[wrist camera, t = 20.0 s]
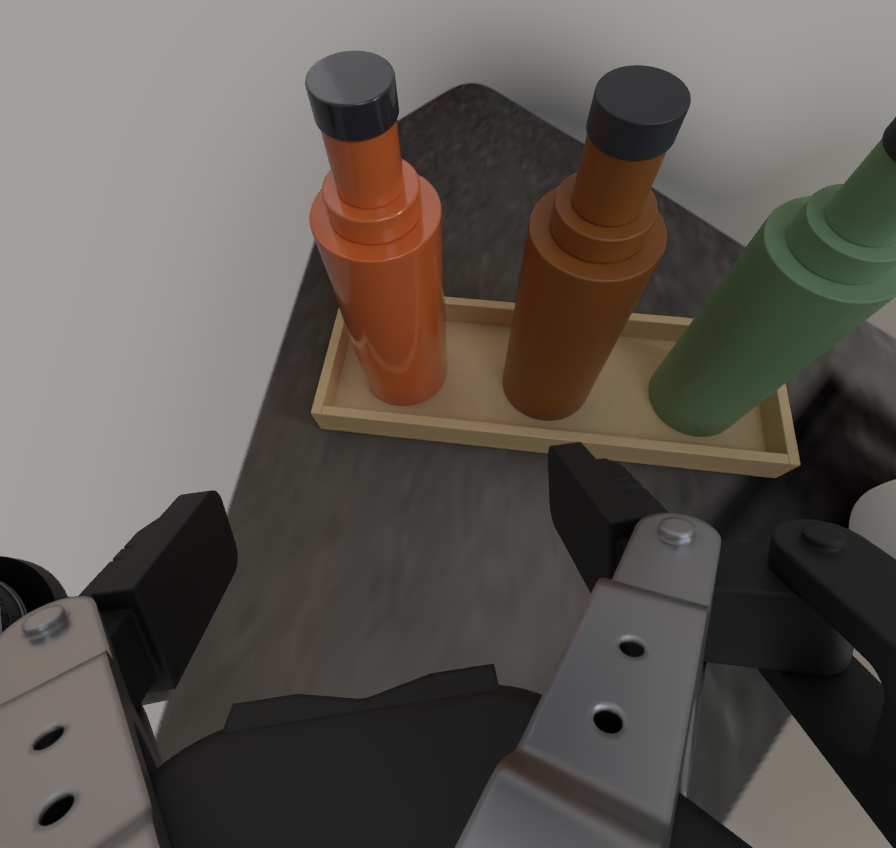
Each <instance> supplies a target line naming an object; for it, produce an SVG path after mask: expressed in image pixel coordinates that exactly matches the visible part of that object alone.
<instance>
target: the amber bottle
mask: <svg viewBox="0 0 896 848" xmlns="http://www.w3.org/2000/svg"><path fill="white" fill-rule="evenodd" d="M690 100H691V99H690V92H689V90H688V88H687V86H686V85H685V84H684V83H683V82H682V81H681V80H680V79H679V78H677V77H676V76H674V75H673V74H671V73H669V72H667V71H664V70H661V69H658V68H654V67H649V66H638V65H635V66H625V67H620V68H617V69H614V70H612V71H610V72H608V73H606V74H605V75H604V76H603V77H602V78H601V79H600V80H599V82H598V83H597V85H596V88H595V92H594V96H593V100H592V104H591V108H590V112H589V116H588V120H587V125H586V129H587V137H586V141H585V144H584V148H583V152H582V156H581V160H580V164H579V168H578V172H576V173H574V174H572V175H571V176H569V177H568V178H566V179H565V180H564V181H563V182H562V183H561V185H560V186H559V187H557V188H555V189H553V190H551V191H550V192H548V193H547V194H546V195H544V196H543V197H542V198H541V199H540V200H539V201H538V203H537V204H536V205H535V207H534V208H533V210H532V213H531V215H530V219H529V224H528V230H527V236H526V242H525V248H524V254H523V260H522V266H521V272H520V277H519V283H518V289H517V295H516V301H515V307H514V313H513V319H512V325H511V331H510V337H509V343H508V348H507V354H506V360H505V366H504V372H503V388H504V392H505V394H506V396H507V398H508V400H509V401H510V403H511V404H512V405H513V406H514V407H515V408H516V409H517V410H518V411H520V412H521V413H523V414H524V415H526V416H528V417H531V418H534V419H537V420H543V421H554V420H560V419H563V418H566V417H569V416H571V415H572V414H574V413H575V412H576V411H578V410H579V409H580V408H581V407H582V405H583V404H584V402H585V401H586V399H587V397H588V395H589V393H590V391H591V389H592V387H593V385H594V384H595V382H596V380H597V378H598V376H599V374H600V372H601V370H602V368H603V367H604V365H605V363H606V361H607V359H608V357H609V355H610V353H611V351H612V350H613V348H614V346H615V344H616V342H617V340H618V338H619V336H620V334H621V333H622V331H623V329H624V327H625V325H626V323H627V321H628V319H629V317H630V316H631V314H632V312H633V310H634V308H635V306H636V304H637V302H638V300H639V299H640V297H641V295H642V293H643V291H644V289H645V287H646V285H647V283H648V282H649V280H650V278H651V276H652V274H653V272H654V270H655V268H656V266H657V265H658V263H659V261H660V259H661V257H662V255H663V253H664V251H665V247H666V243H667V231H666V226H665V223H664V220H663V218H662V216H661V215H660V213H659V212H658V207H657V201H656V198H655V196H654V194H653V192H652V191H651V187H652V184H653V182H654V180H655V177H656V175H657V173H658V170H659V168H660V166H661V163H662V161H663V159H664V156H665V154H666V152H667V150H668V149H669V148H670V147H671V146H672V145H673V143H674V141H675V139H676V136H677V134H678V132H679V129H680V127H681V125H682V123H683V120H684V118H685V115H686V113H687V111H688V109H689V106H690Z"/></svg>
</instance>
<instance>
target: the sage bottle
mask: <svg viewBox="0 0 896 848" xmlns="http://www.w3.org/2000/svg"><path fill="white" fill-rule="evenodd" d="M895 297H896V117H895V119H894V120H893V121H892V122H891V123H890V125H889V126H888V127H887V128H886V130H885V131H884V134H883V138H882V139H881V141H880V142H879V143H878V144H877V145H876V146H875V148H874V149H873V150H872V151H871V153H870V154H869V155H868V156H867V157H866V158H865V160H864V161H863V162H862V163H861V164H860V166H859V167H858V168H857V169H856V170H855V171H854V172H853V174H852V175H851V176H850V177H849V178H848V180H847V181H846V182H845V183H844V184H837V185H831V186H827V187H825V188H822V189H821V190H819V191H817V192H816V193H814V194H813V195H812V196H808V197H801V198H797V199H793V200H791V201H788V202H786V203H784V204H782V205H781V206H779V207H778V208H776V209H775V210H774V211H773V212H772V213H771V214H770V215H769V217H768V218H767V219H766V221H765V222H764V223H763V225H762V226H761V227H760V229H759V230H758V232H757V233H756V234H755V236H754V237H753V238H752V240H751V241H750V242H749V244H748V245H747V247H746V248H745V249H744V251H743V252H742V253H741V255H740V256H739V258H738V259H737V260H736V262H735V263H734V264H733V266H732V267H731V268H730V270H729V271H728V273H727V274H726V275H725V277H724V278H723V279H722V281H721V282H720V284H719V285H718V286H717V288H716V289H715V290H714V292H713V293H712V294H711V296H710V297H709V299H708V300H707V301H706V303H705V304H704V305H703V307H702V308H701V310H700V311H699V312H698V314H697V315H696V316H695V318H694V319H693V320H692V322H691V323H690V325H689V326H688V327H687V329H686V330H685V331H684V333H683V334H682V336H681V337H680V338H679V340H678V341H677V342H676V344H675V345H674V346H673V348H672V349H671V351H670V352H669V353H668V355H667V356H666V357H665V359H664V360H663V362H662V363H661V364H660V366H659V367H658V368H657V370H656V371H655V372H654V374H653V376H652V377H651V380H650V383H649V398H650V402H651V405H652V407H653V409H654V411H655V412H656V414H657V415H658V416H659V417H660V419H661V420H662V421H663V422H665V423H666V424H667V425H668V426H670V427H671V428H673V429H674V430H676V431H678V432H681V433H683V434H686V435H690V436H695V437H709V436H714V435H717V434H720V433H722V432H724V431H725V430H727V429H728V428H729V427H731V426H732V425H733V424H735V423H736V422H737V421H738V420H740V419H741V418H742V417H743V416H745V415H746V414H747V413H749V412H750V411H751V410H752V409H754V408H755V407H756V406H757V405H759V404H760V403H761V402H762V401H764V400H765V399H766V398H768V397H769V396H770V395H771V394H773V393H774V392H775V391H776V390H778V389H779V388H780V387H782V386H783V385H784V384H785V383H787V382H788V381H789V380H790V379H792V378H793V377H794V376H795V375H797V374H798V373H799V372H801V371H802V370H803V369H804V368H806V367H807V366H808V365H809V364H811V363H812V362H813V361H815V360H816V359H817V358H818V357H820V356H821V355H822V354H823V353H825V352H826V351H827V350H828V349H830V348H831V347H832V346H834V345H835V344H836V343H837V342H839V341H840V340H841V339H842V338H844V337H845V336H846V335H848V334H849V333H850V332H851V331H853V330H854V329H855V328H856V327H858V326H859V325H860V324H861V323H863V322H864V321H865V320H867V319H868V318H869V317H870V316H872V315H873V314H874V313H875V312H877V311H878V310H879V309H881V308H882V307H883V306H884V305H886V304H887V303H888V302H889V301H891V300H892V299H893V298H895Z"/></svg>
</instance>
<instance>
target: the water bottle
mask: <svg viewBox="0 0 896 848" xmlns="http://www.w3.org/2000/svg"><path fill="white" fill-rule="evenodd" d="M849 529H850V530H852V531H854V532H856V533H858V534H859V535H861V536H862V537H864V538H866V539H867V540H868V541H870V542H871V543H873V544H874V545H876V546H877V547H879V548H880V549H882V550H883V551H884V552H886V553H887V554H889V555H890V556H892V557H893V558H895V559H896V479H895V480H892V481H889V482H887V483H884V484H881V485H879V486H877V487H875V488H872V489H871V490H869V491H867V492H866V493H865V494H863V495H862V496H861V497H860V498H859V500H858V501H857V502H856V503H855V505H854V507H853V509H852V512H851V515H850V520H849Z"/></svg>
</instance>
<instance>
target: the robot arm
mask: <svg viewBox="0 0 896 848" xmlns="http://www.w3.org/2000/svg"><path fill="white" fill-rule="evenodd" d="M548 473H549V501H550V511H551V516H552V520H553V523H554V526H555V528H556V530H557V532H558V534H559V535H560V537H561V539H562V541H563V543H564V545H565V547H566V548H567V550H568V552H569V554H570V556H571V558H572V560H573V561H574V563H575V565H576V567H577V569H578V571H579V572H580V574H581V576H582V578H583V580H584V582H585V584H586V585H587V587H588V589H589V591H590V593H591V595H590V597H589V599H588V601H587V603H586V605H585V607H584V609H583V612H582V614H581V616H580V618H579V620H578V622H577V624H576V626H575V628H574V630H573V632H572V634H571V637H570V639H569V641H568V643H567V645H566V647H565V649H564V651H563V653H562V655H561V657H560V659H559V662H558V664H557V666H556V668H555V670H554V672H553V674H552V676H551V678H550V680H549V682H548V684H547V687H546V689H545V691H544V693H543V695H541V694H539V693H536V692H532V691H529V690H526V689H521V688H516V687H511V686H503V685H498V681H497V676H496V671H495V667H494V664H489V665H483V666H476V667H470V668H463V669H457V670H450V671H444V672H438V673H431V674H428V675H426V676H423V677H421V678H418V679H415V680H413V681H410V682H408V683H405V684H402V685H400V686H397V687H395V688H392V689H389V690H387V691H384V692H382V693H379V694H376V695H374V696H371V697H368V698H363V699H353V698H341V697H329V696H316V695H304V694H295V695H288V696H282V697H275V698H269V699H262V700H256V701H249V702H243V703H236V704H233V705H232V708H231V710H230V713H229V716H228V719H227V721H226V724H225V727H224V729H222V730H220V731H217V732H215V733H213V734H211V735H209V736H207V737H205V738H203V739H201V740H199V741H197V742H195V743H194V744H192V745H190V746H188V747H187V748H185V749H183V750H182V751H180V752H179V753H177V754H176V755H174V756H173V757H172V758H170V759H169V760H167V761H166V762H165V763H164V762H163V760H162V757H161V754H160V751H159V748H158V745H157V742H156V740H155V737H154V734H153V731H152V728H151V725H150V722H149V720H148V717H147V714H146V712H145V710H144V708H143V705H142V703H141V702H142V700H143V698H144V697H145V695H146V693H149V692H155V691H162V690H169V689H175V688H176V686H177V685H178V683H179V681H180V679H181V677H182V675H183V673H184V671H185V669H186V667H187V665H188V663H189V661H190V659H191V657H192V655H193V653H194V651H195V649H196V648H197V646H198V644H199V642H200V640H201V638H202V636H203V634H204V632H205V630H206V628H207V626H208V624H209V622H210V620H211V618H212V616H213V614H214V612H215V611H216V609H217V607H218V605H219V603H220V601H221V599H222V597H223V595H224V593H225V591H226V589H227V587H228V585H229V583H230V581H231V579H232V577H233V575H234V573H235V571H236V568H237V560H238V554H237V547H236V543H235V540H234V537H233V534H232V531H231V527H230V524H229V521H228V518H227V514H226V511H225V508H224V505H223V502H222V499H221V497H220V495H219V494H218V493H217V492H216V491H205V492H198V493H190V494H184V495H180V496H179V497H177V498H176V500H175V501H174V502H173V503H172V504H171V505H170V506H169V508H168V509H167V510H166V511H165V512H164V513H163V514H162V515H161V517H160V518H158V519H156V520H155V521H153V522H152V523H150V524H149V525H147V526H146V527H144V528H143V529H141V530H140V531H138V532H137V533H136V534H135V535H134V536H133V538H132V539H131V540H130V541H129V542H128V543H127V544H126V545H125V548H124V549H121V550H120V552H119V553H118V554H117V555H116V556H115V557H114V558H113V561H112V562H110V563H108V564H107V566H106V567H105V568H104V569H103V570H102V571H101V572H100V573H99V574H98V575H97V577H95V579H94V580H93V581H92V582H91V583H90V584H89V585H88V586H87V587H86V588H85V589H84V591H82V593H81V594H80V595H79V596H74V597H68V598H64V599H60V600H57V601H54V602H52V603H49V604H47V605H44V606H42V607H40V608H38V609H36V610H34V611H32V609H31V607H30V605H29V603H28V601H27V599H26V598H25V596H24V595H23V594H22V593H21V592H20V591H19V590H18V589H17V588H16V587H15V586H13V585H11V584H10V583H8V582H6V581H3V580H0V848H752V847H751V846H750V845H748V844H747V843H746V842H745V841H743V840H742V839H741V838H739V837H738V836H737V835H735V834H734V833H733V832H731V831H730V830H729V829H727V828H726V827H725V826H724V825H722V824H721V823H720V822H718V821H717V820H716V819H714V818H713V817H712V816H710V815H709V814H708V813H706V812H705V811H704V810H702V809H701V808H700V807H699V806H697V805H696V804H695V803H693V802H692V801H691V800H689V799H688V792H689V784H690V777H691V769H692V761H693V754H694V747H695V740H696V734H697V728H698V721H699V715H700V708H701V702H702V695H703V689H704V682H705V676H706V669H707V662H711V663H720V664H728V665H736V666H745V667H753V668H758V670H759V671H760V673H761V674H762V675H763V677H764V678H765V679H766V681H767V682H768V683H769V685H770V686H771V687H772V689H773V690H774V691H775V693H776V694H777V695H778V697H779V698H780V699H781V701H782V702H783V703H784V704H785V706H786V707H787V708H788V710H789V711H790V712H791V714H792V715H793V716H794V718H795V719H796V720H797V722H798V723H799V724H800V725H801V727H802V728H803V730H804V731H805V732H806V733H807V735H808V736H809V737H810V739H811V740H812V741H813V743H814V744H815V745H816V746H817V748H818V749H819V751H820V752H821V753H822V755H823V756H824V757H825V758H826V760H827V761H828V763H829V764H830V765H831V766H832V768H833V769H834V770H835V772H836V773H837V774H838V776H839V777H840V778H841V780H842V781H843V782H844V784H845V785H846V786H847V788H848V789H849V790H850V791H851V793H852V794H853V795H854V797H855V798H856V799H857V801H858V802H859V803H860V805H861V806H862V807H863V809H864V810H865V811H866V813H867V814H868V815H869V816H870V818H871V819H872V821H873V822H874V823H875V825H876V826H877V827H878V829H879V830H880V831H881V832H882V834H883V835H884V836H885V838H886V839H887V840H888V842H889V843H890V844H891V846H892V847H893V848H896V559H895V558H893V557H892V556H890V555H889V554H887V553H886V552H884V551H883V550H882V549H880V548H879V547H877V546H876V545H874V544H873V543H871V542H870V541H868V540H867V539H866V538H864V537H862V536H861V535H859V534H858V533H856V532H854V531H852V530H850V529H847V528H845V527H842V526H839V525H836V524H833V523H829V522H825V521H819V520H812V519H791V520H785V521H782V522H780V523H778V524H776V525H775V526H774V527H773V529H772V533H771V540H770V544H756V543H738V542H726V541H721V538H720V535H719V534H718V532H717V531H716V530H715V529H714V528H713V527H712V526H710V525H709V524H707V523H706V522H704V521H702V520H700V519H697V518H694V517H691V516H687V515H683V514H677V513H669V512H668V511H667V510H666V509H665V508H664V507H663V506H662V505H661V504H660V503H659V502H658V501H657V500H656V499H655V498H654V497H653V496H652V495H651V494H650V493H649V492H648V491H647V490H646V489H645V488H642V485H641V484H640V483H639V482H638V481H637V480H636V479H633V476H632V475H631V474H630V473H629V472H628V471H627V470H626V469H625V468H624V467H623V466H621V465H619V464H617V463H615V462H612V461H610V460H608V459H606V458H602V459H596V458H595V457H594V456H593V455H592V454H591V453H590V451H589V450H588V449H587V448H586V447H585V446H584V445H583V444H582V443H581V442H575V443H568V444H560V445H553V446H550V447H549V450H548ZM854 648H855V649H856V650H857V651H858V652H859V653H860V654H861V655H862V656H863V657H864V658H865V659H866V660H867V661H868V662H869V663H870V664H871V665H872V667H873V668H874V669H875V671H876V673H877V674H878V676H879V678H880V680H881V683H882V684H881V683H880V682H879V681H878V680H877V679H876V678H875V677H874V676H873V675H872V674H871V673H870V672H869V671H868V670H867V669H866V668H865V667H864V666H863V665H862V664H861V663H860V662H859V661H858V660H857V659H856V658H855V657H854V656H853V655H852V653H853V650H854Z"/></svg>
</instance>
